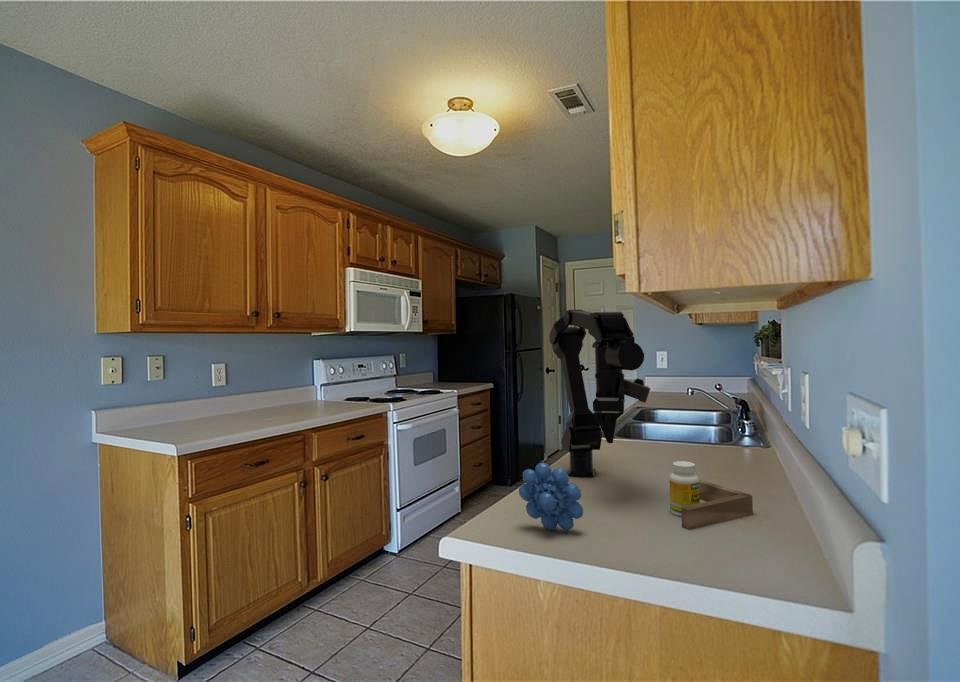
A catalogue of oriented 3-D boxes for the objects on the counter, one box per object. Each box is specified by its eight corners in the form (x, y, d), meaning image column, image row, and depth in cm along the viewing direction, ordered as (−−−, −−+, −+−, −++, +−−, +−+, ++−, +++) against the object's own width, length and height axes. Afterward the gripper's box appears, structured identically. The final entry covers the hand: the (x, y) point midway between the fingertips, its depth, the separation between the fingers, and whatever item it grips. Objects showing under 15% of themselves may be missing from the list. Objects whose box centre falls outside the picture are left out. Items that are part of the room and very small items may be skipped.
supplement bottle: (675, 506, 99) (674, 458, 99) (703, 512, 95) (702, 462, 95) (666, 514, 94) (664, 464, 95) (695, 520, 91) (693, 468, 91)
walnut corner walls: (625, 503, 101) (624, 486, 101) (684, 491, 108) (684, 475, 108) (689, 529, 86) (688, 509, 86) (753, 513, 93) (752, 495, 93)
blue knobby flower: (513, 535, 86) (511, 466, 86) (523, 521, 92) (521, 458, 93) (579, 543, 82) (577, 471, 82) (585, 528, 88) (583, 461, 88)
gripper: (649, 370, 97) (651, 449, 97) (645, 365, 115) (647, 432, 115) (591, 371, 100) (593, 447, 100) (597, 366, 118) (598, 431, 118)
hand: (610, 438), depth 108 cm, fingers open, 9 cm apart
